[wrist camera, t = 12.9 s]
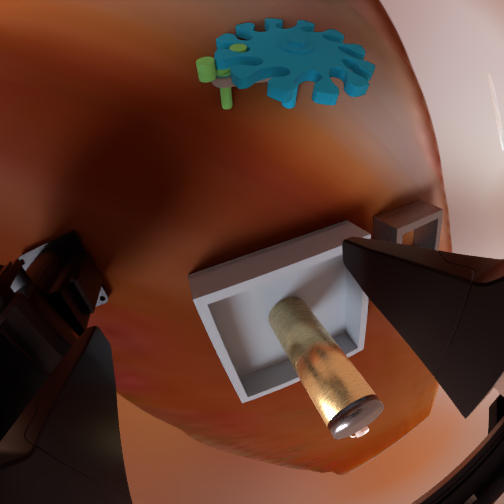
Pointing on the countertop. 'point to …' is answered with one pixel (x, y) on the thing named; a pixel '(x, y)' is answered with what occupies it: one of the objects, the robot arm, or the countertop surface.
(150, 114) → the countertop surface
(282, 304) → the capped labeled canister
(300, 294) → the tray
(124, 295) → the countertop surface
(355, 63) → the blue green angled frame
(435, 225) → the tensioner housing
